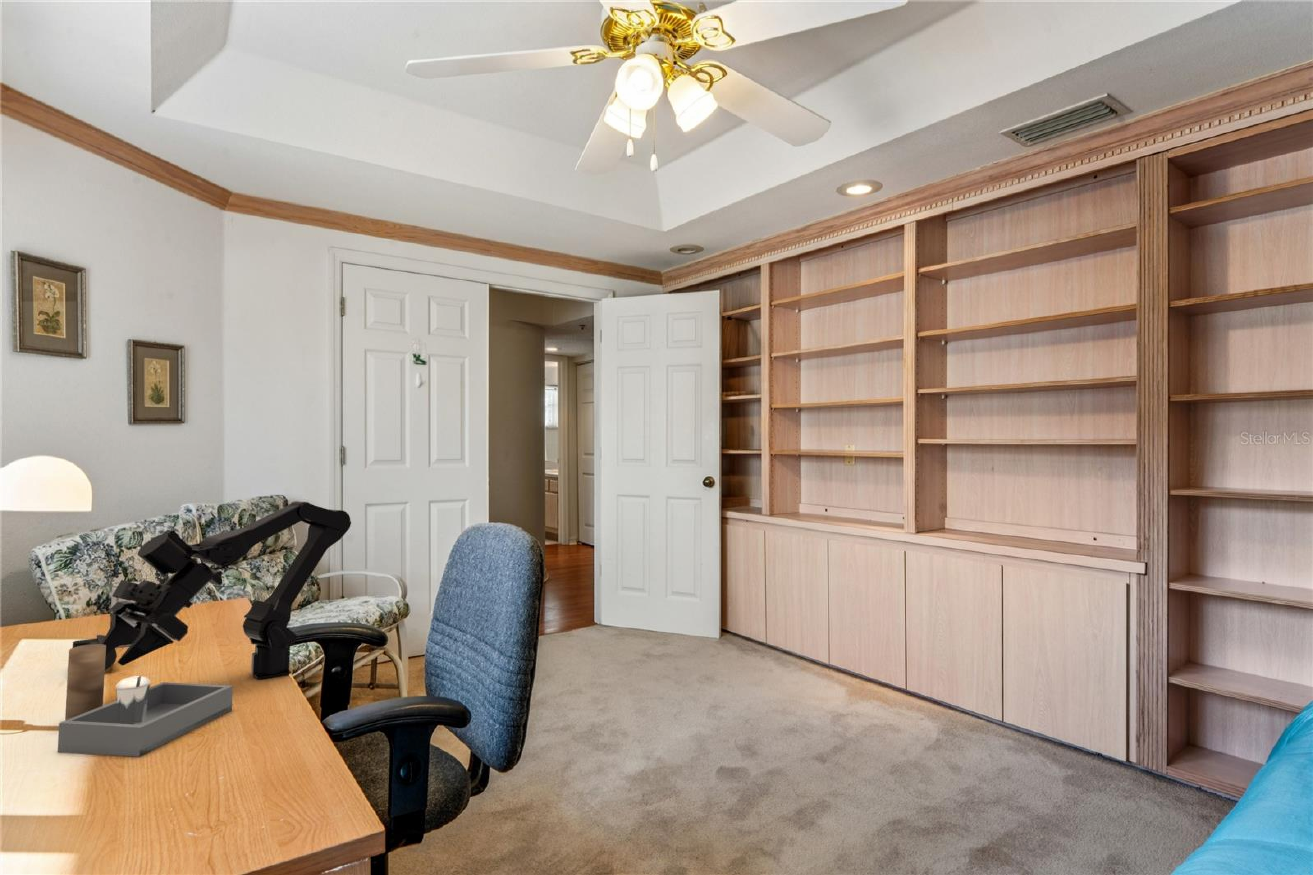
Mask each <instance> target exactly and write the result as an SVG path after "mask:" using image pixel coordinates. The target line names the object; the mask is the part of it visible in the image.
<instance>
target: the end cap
mask: <svg viewBox="0 0 1313 875" xmlns="http://www.w3.org/2000/svg"><path fill="white" fill-rule="evenodd" d="M105 636H106V635H104V634H97V635H96V638H95V637H94V638H91V639H89V638H88V639H81V640H74V641H72V648H74V647H78V646H84V645H92V644H101V642H102V641H103V639H104V638H105ZM117 657H118V654H117V649H116V648H115V649H114V650H112V651H110V652H109V653H107V654H106V658H105V672H106V671H107V670H109V669H110V668H111V667H112V666H113V665H114V664H115V662H116V661H117Z"/></svg>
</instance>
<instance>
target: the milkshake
mask: <svg viewBox="0 0 1313 875" xmlns="http://www.w3.org/2000/svg"><path fill="white" fill-rule="evenodd" d="M150 687H151V680H150V679H149V678H148V677H146V676H142V675H134V676H130V677H127V678H122V679H121V680H120V681H118V682H117V683H116V685H115V692H116V694H115V695H116V701H117V713H118V724H134V725H141V724H143V723H145V716H146V709H147V701H148V695H149V689H150Z"/></svg>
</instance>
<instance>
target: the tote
mask: <svg viewBox="0 0 1313 875" xmlns="http://www.w3.org/2000/svg"><path fill="white" fill-rule="evenodd" d="M233 688H234V685H225V684H224V685H223V684H222V685H221V684H208V683H207V684H205V683H188V682H187V683H185V682H182V683H181V682H170V681H169V682H165V681H164V682H160V683H158V684H156V685H153V686H150V689H149V695H148V701H147V709H146V716H145V723H143V724H141V725H134V724H118V713H117V700H115V701H112V702H109V703H106V704H103V706H101V707H99V708H96V709H94V710H91V711H88V712H86V713H83V714H81V715H78V716H76V717H73V718H70V719H68V720H65V719H64V720H63V721H60V722H59V723H58V740H57V752H58V753H72V754H87V755H89V754H90V755H100V756H101V755H103V756H104V755H105V756H119V757H120V756H122V757H136V758H140V757H142V756H144V755H146V754H148V753H149V752H152V751H153V750H156V749H157V748H160V747H162V746H164V745H166V744H167V743H168V744H169V743H170V742H171V741H173V740H175V739H178V738H180V737H182V736H183V735H186V734H188V733H190V732H192V731H194V730H196V729H197V728H200V727H202V726H204V725H206V724H207V723H210V722H211V721H214V720H215V719H217V718H219V717H222V716H224V715H225V714H227V713H230V712H231V711H232V710H233V698H234V697H233V695H234V694H233V693H234V692H233V691H234V689H233Z"/></svg>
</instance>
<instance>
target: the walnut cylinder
mask: <svg viewBox="0 0 1313 875" xmlns="http://www.w3.org/2000/svg"><path fill="white" fill-rule="evenodd" d="M105 658H106V645H104V644H92V645H84V646H78V647H74V648H73V647H72V648H70V649H68V661H67V662H68V663H67V664H68V665H67V677H66V678H67V679H66V682H67V683H66V700H65V715H64V716H65V717H64V721H65V720H68V719H70V718H73V717H76V716H78V715H81V714H83V713H86V712H88V711H91V710H94V709H96V708H99V707H101V706H104V693H105V677H106V676H105V675H106V671H105Z"/></svg>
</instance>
